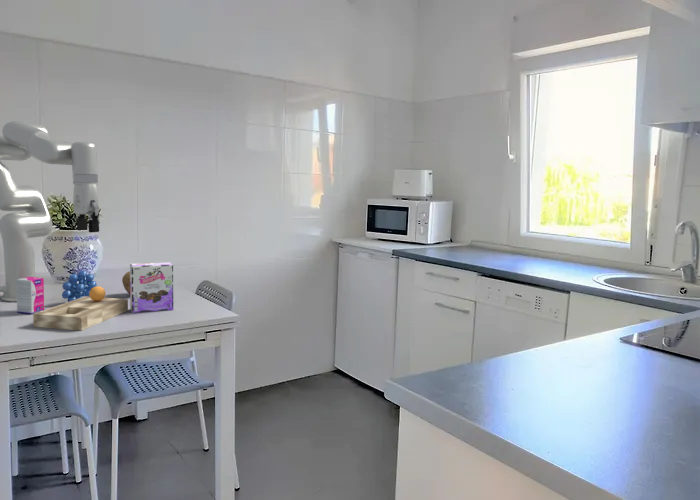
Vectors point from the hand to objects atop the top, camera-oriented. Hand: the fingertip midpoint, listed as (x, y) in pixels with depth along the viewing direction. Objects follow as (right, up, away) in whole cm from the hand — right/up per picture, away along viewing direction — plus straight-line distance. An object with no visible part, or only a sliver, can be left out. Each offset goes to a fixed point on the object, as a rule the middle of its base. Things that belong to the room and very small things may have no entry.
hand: (88, 231), depth 178 cm
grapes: (-10, -26, +13) cm, 31 cm away
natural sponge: (+4, -24, +28) cm, 38 cm away
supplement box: (-19, -27, -1) cm, 33 cm away
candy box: (+19, -28, +8) cm, 34 cm away
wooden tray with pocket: (+2, -29, -6) cm, 29 cm away
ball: (+3, -21, +1) cm, 21 cm away
